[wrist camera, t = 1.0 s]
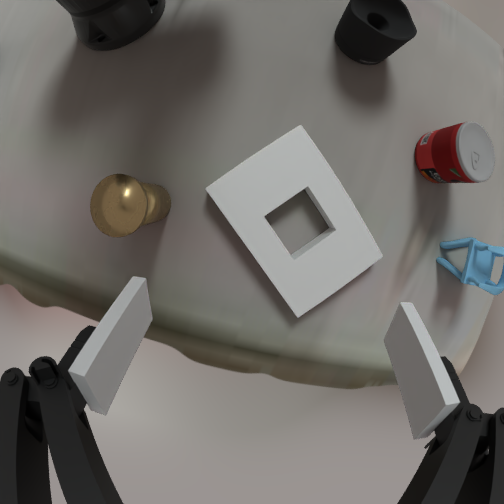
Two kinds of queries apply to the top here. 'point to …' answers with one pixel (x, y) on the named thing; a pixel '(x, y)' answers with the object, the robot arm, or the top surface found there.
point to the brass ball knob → (127, 204)
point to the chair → (476, 264)
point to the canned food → (456, 154)
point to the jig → (276, 193)
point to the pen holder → (374, 29)
